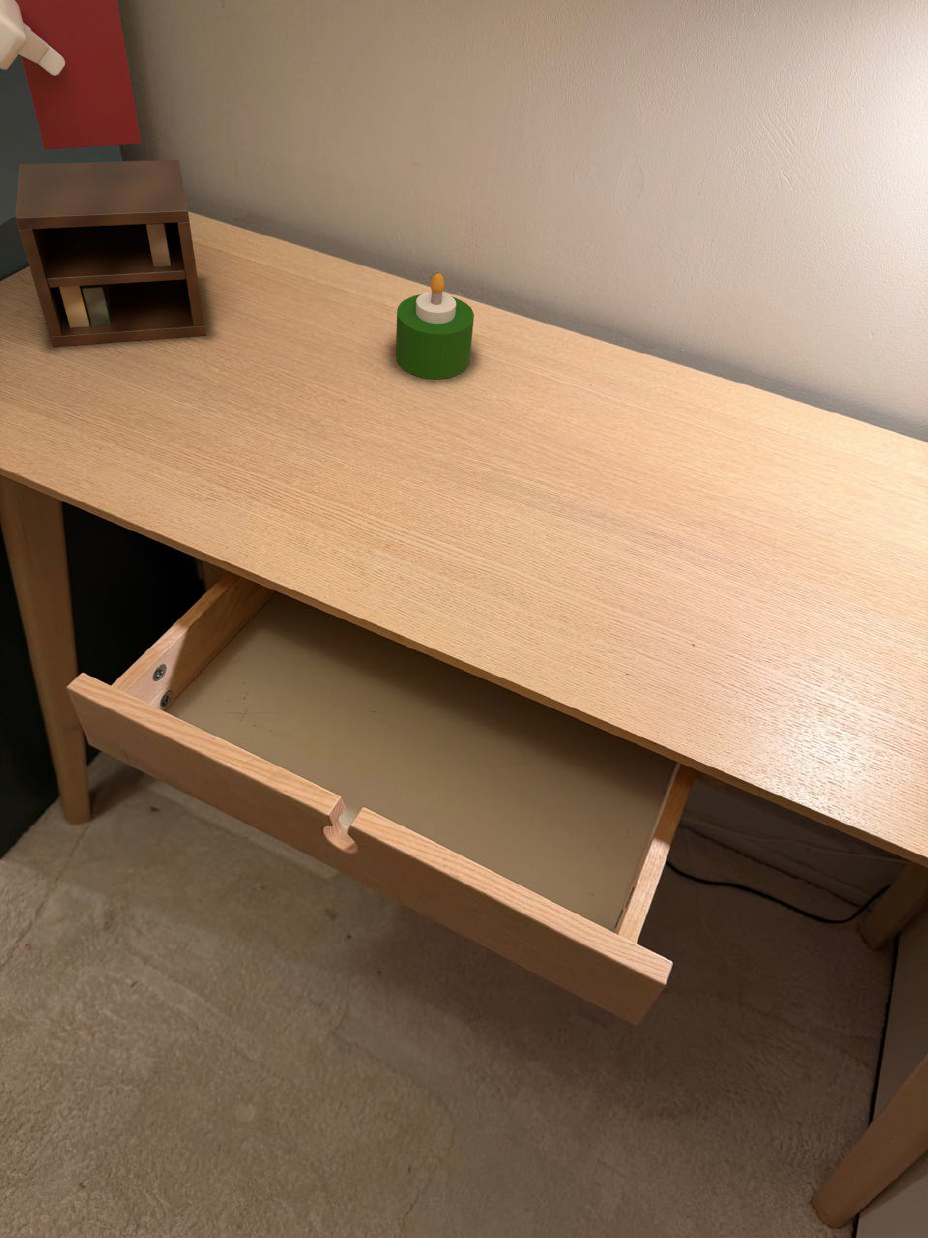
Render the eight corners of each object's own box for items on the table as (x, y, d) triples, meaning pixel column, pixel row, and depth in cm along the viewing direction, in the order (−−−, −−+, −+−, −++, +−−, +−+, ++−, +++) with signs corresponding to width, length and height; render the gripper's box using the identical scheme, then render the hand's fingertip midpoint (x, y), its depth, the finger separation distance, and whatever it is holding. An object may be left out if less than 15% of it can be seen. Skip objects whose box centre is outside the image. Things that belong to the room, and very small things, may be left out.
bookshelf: (52, 346, 97) (15, 217, 87) (54, 289, 105) (19, 163, 94) (206, 335, 101) (187, 210, 91) (197, 280, 109) (179, 159, 98)
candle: (403, 381, 98) (406, 296, 91) (389, 339, 104) (391, 255, 96) (477, 376, 100) (486, 292, 93) (460, 335, 105) (467, 252, 98)
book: (44, 149, 87) (4, -11, 77) (41, 137, 89) (2, -21, 79) (141, 143, 90) (115, -12, 80) (137, 131, 91) (110, -22, 82)
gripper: (-80, -72, 66) (92, 71, 76) (-83, -137, 78) (66, -6, 88) (-124, 1, 68) (49, 131, 78) (-120, -73, 80) (29, 48, 90)
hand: (58, 58), depth 83 cm, fingers closed on book, 3 cm apart
